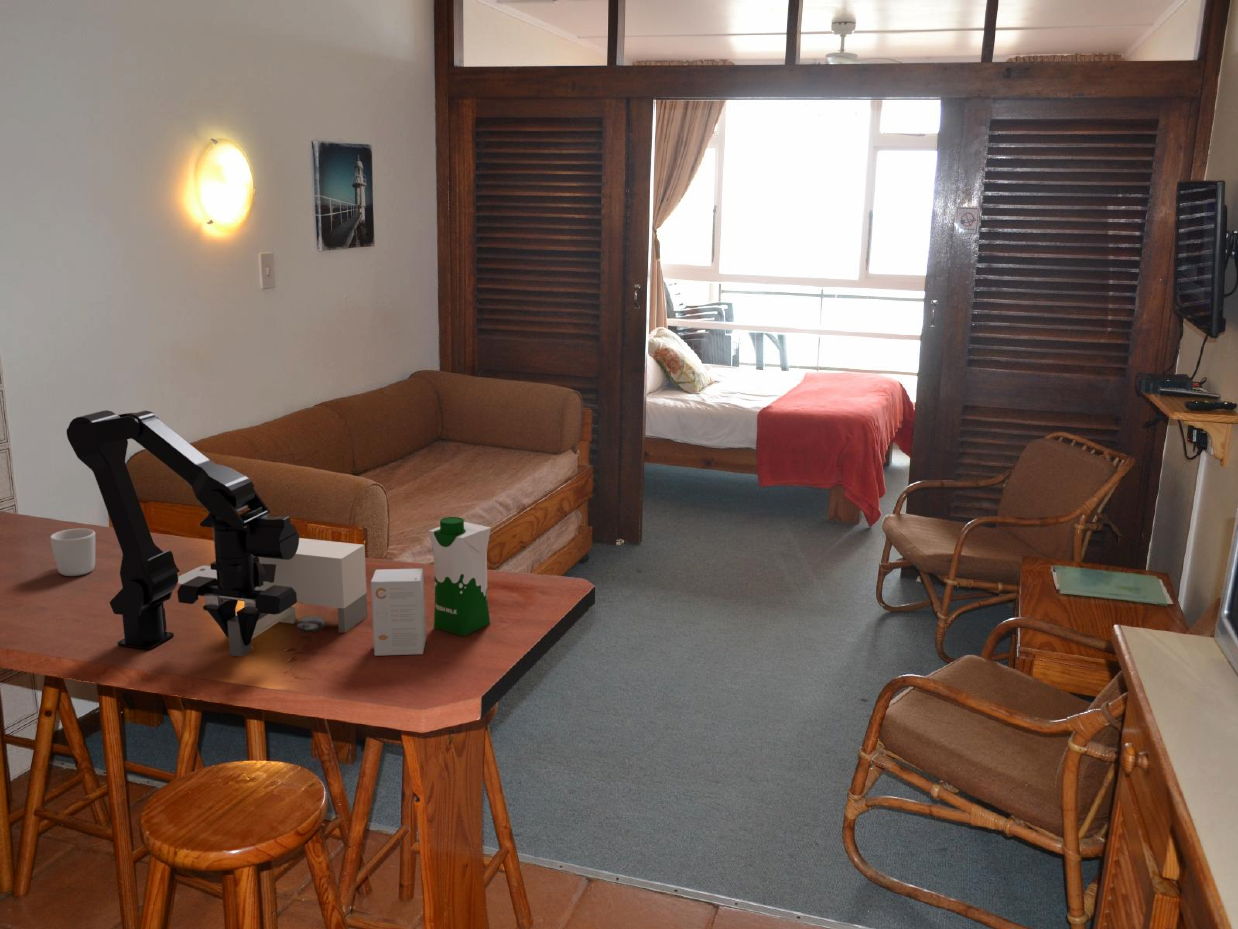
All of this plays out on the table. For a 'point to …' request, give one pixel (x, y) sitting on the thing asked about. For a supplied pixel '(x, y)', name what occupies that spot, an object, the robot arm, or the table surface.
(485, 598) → the milk carton
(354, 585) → the cabinet
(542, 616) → the table surface
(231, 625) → the grey mallet
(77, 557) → the cup
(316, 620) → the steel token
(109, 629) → the table surface
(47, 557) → the table surface
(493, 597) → the table surface
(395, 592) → the small box
